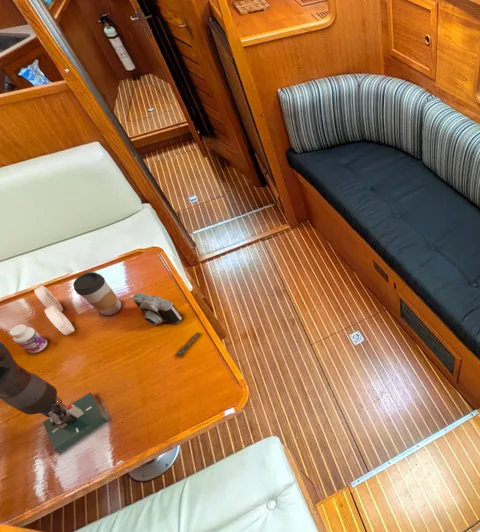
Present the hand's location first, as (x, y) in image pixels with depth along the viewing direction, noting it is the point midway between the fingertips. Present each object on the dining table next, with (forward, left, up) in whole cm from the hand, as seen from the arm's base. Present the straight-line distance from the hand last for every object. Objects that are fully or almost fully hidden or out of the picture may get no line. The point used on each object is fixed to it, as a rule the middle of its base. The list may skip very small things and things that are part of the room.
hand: (71, 418), depth 108 cm
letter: (+8, +42, -3) cm, 43 cm away
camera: (+31, +19, -3) cm, 36 cm away
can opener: (+33, +2, -3) cm, 33 cm away
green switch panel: (0, 0, -3) cm, 3 cm away
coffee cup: (+21, +35, -3) cm, 41 cm away
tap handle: (0, 0, 0) cm, 0 cm away
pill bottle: (-1, +36, -3) cm, 36 cm away
